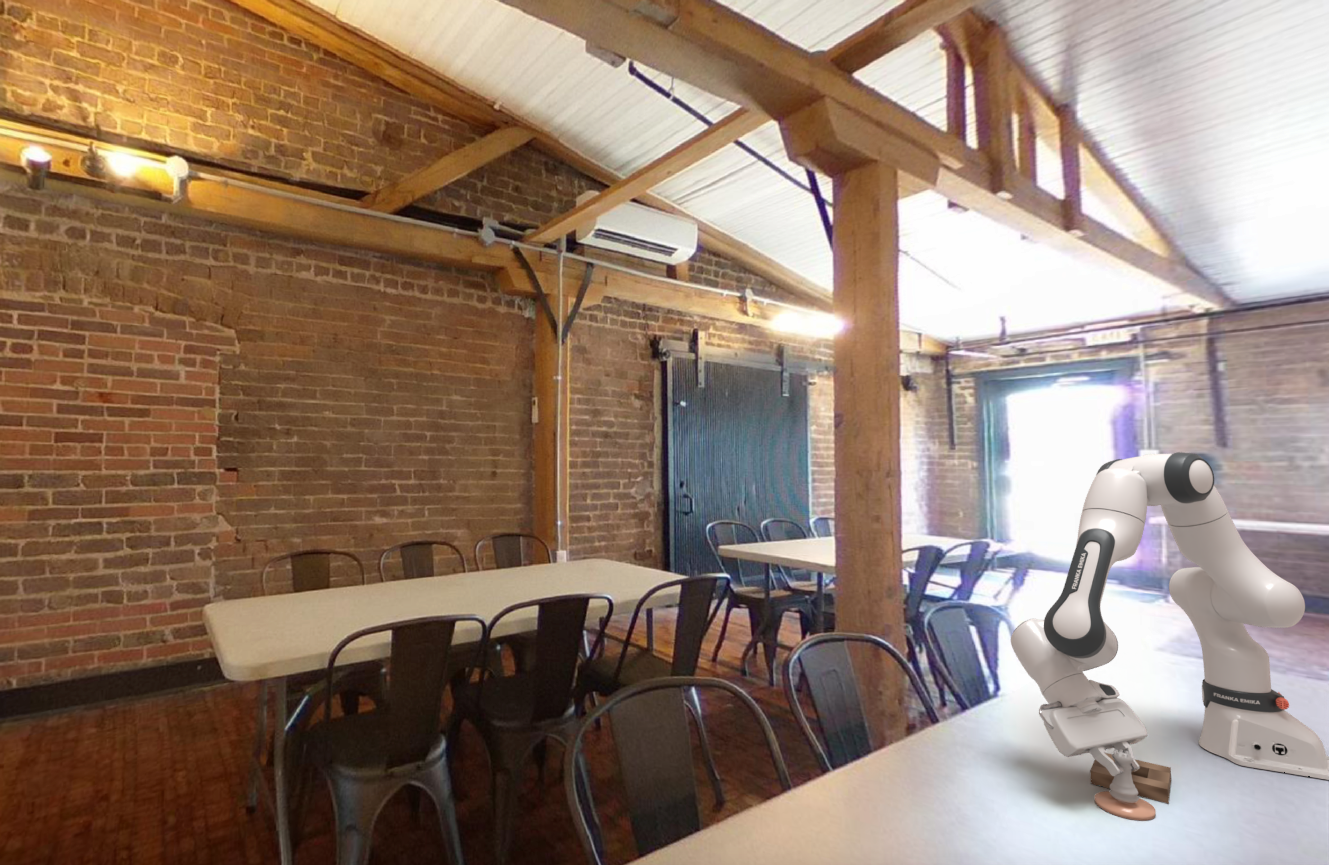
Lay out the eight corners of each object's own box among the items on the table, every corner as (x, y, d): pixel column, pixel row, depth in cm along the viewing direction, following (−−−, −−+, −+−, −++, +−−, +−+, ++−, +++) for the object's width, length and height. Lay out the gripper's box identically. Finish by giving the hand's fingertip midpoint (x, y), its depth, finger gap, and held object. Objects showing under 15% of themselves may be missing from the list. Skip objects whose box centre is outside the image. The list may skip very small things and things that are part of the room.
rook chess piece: (1103, 792, 120) (1101, 747, 121) (1125, 791, 121) (1123, 746, 121) (1123, 804, 116) (1120, 757, 116) (1145, 803, 116) (1143, 756, 117)
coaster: (1157, 806, 119) (1157, 801, 119) (1154, 826, 112) (1153, 821, 112) (1098, 790, 124) (1098, 786, 124) (1091, 809, 117) (1091, 804, 117)
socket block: (1171, 780, 129) (1170, 767, 129) (1168, 803, 120) (1167, 789, 120) (1098, 763, 136) (1098, 751, 137) (1090, 783, 127) (1090, 770, 127)
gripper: (1044, 697, 122) (1097, 773, 112) (1120, 685, 129) (1176, 756, 119) (1024, 713, 126) (1074, 788, 116) (1099, 701, 133) (1152, 771, 123)
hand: (1126, 772), depth 118 cm, fingers closed on rook chess piece, 3 cm apart
